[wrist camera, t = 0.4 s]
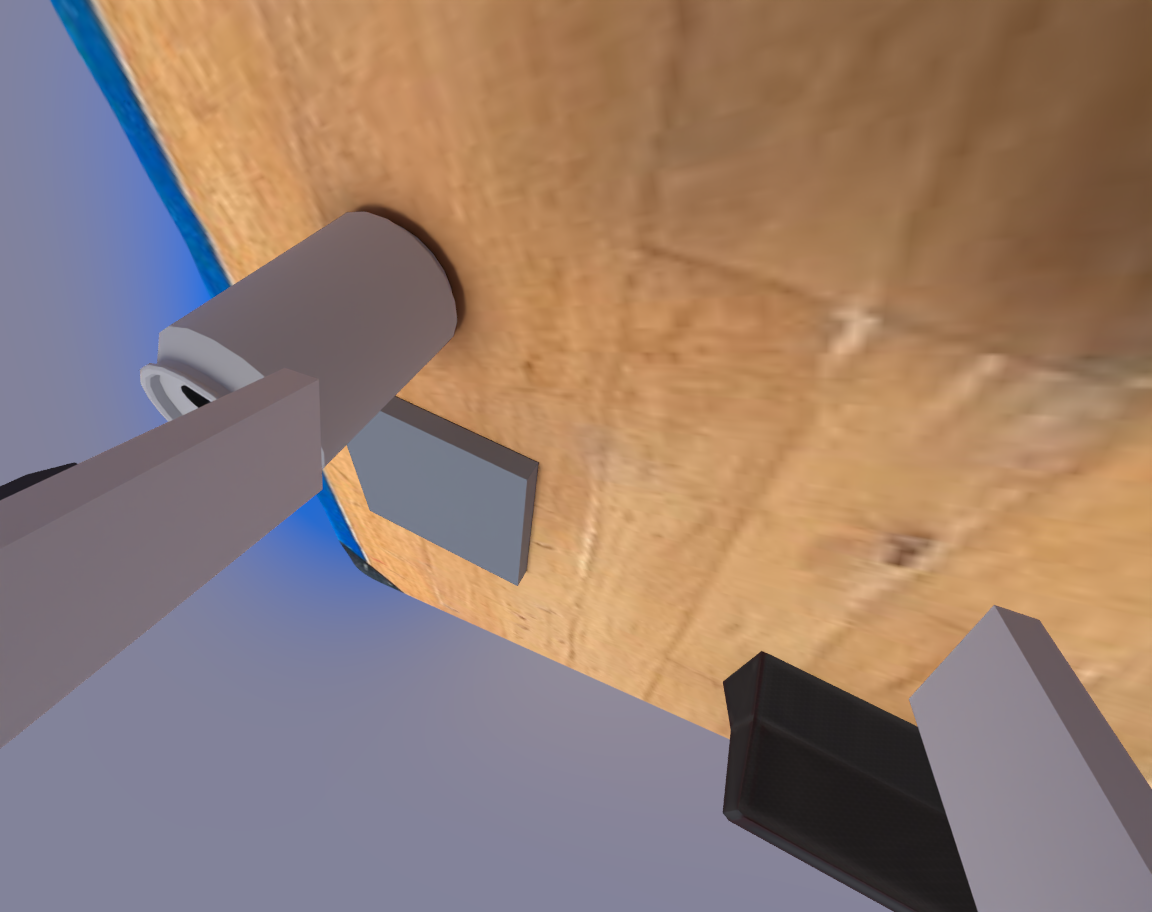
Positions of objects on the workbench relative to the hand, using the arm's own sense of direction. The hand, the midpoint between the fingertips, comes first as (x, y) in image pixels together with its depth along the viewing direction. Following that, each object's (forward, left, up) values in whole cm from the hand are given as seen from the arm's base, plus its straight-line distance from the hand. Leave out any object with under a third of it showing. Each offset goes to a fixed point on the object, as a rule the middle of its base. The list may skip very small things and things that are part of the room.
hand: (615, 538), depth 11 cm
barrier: (+32, +23, -14) cm, 42 cm away
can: (+8, -16, -13) cm, 22 cm away
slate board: (+26, -15, -13) cm, 33 cm away
